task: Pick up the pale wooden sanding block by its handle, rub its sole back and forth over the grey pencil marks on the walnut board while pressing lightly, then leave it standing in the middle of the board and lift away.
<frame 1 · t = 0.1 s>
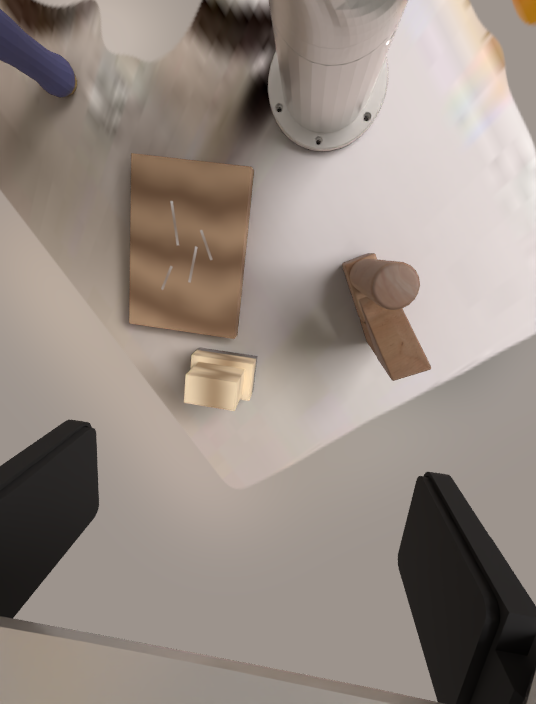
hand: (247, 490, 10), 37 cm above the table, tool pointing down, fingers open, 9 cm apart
sanding block: (226, 369, 49), on the table
wooden block: (368, 299, 44), on the table
rubber mallet: (67, 83, 41), on the table
walnut board: (190, 251, 45), on the table
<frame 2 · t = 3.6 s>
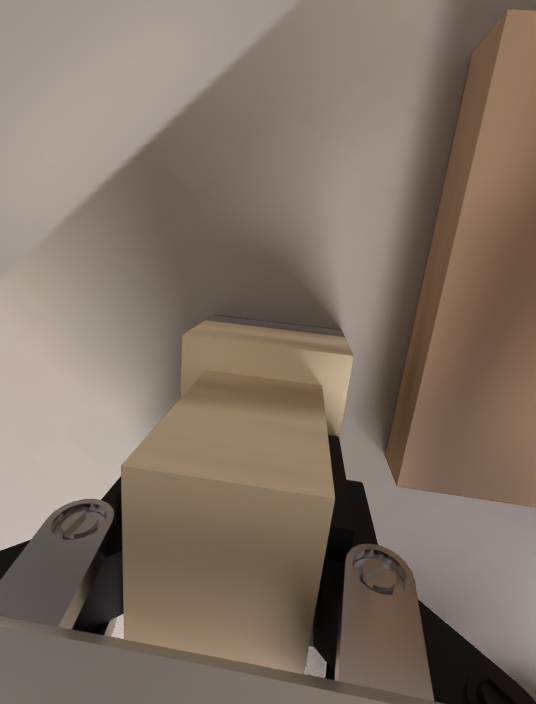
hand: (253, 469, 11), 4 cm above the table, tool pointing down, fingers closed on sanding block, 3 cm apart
sanding block: (266, 416, 15), on the table, touching gripper
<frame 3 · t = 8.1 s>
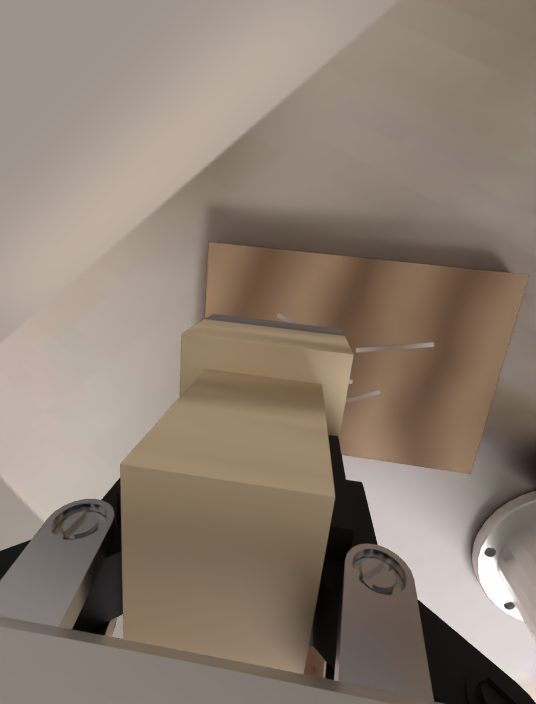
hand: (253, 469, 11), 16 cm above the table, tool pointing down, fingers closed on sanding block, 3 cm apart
sanding block: (266, 415, 15), point 12 cm above the table, touching gripper
wooden block: (271, 587, 33), on the table
walnut board: (342, 355, 26), on the table
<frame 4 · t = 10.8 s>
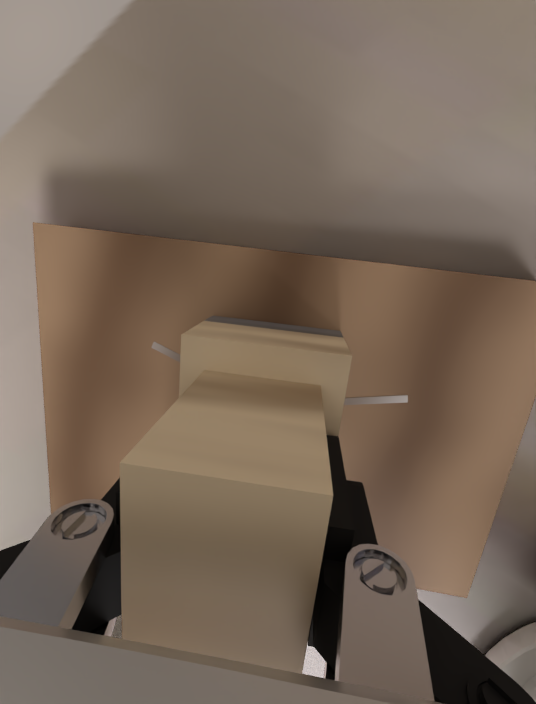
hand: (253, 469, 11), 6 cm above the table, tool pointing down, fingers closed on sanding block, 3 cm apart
sanding block: (265, 417, 15), point 2 cm above the table, touching gripper
walnut board: (270, 404, 17), on the table
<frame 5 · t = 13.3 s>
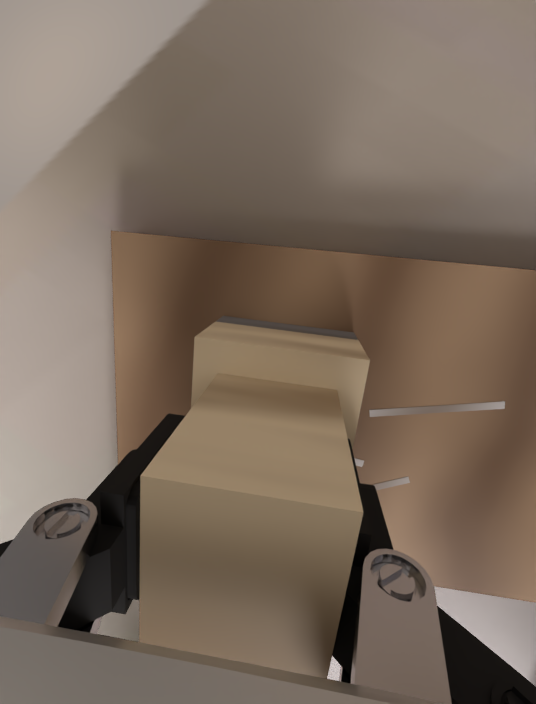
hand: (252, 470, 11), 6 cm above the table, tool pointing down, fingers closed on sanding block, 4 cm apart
sanding block: (275, 418, 15), point 2 cm above the table, touching gripper, walnut board
walnut board: (346, 412, 16), on the table
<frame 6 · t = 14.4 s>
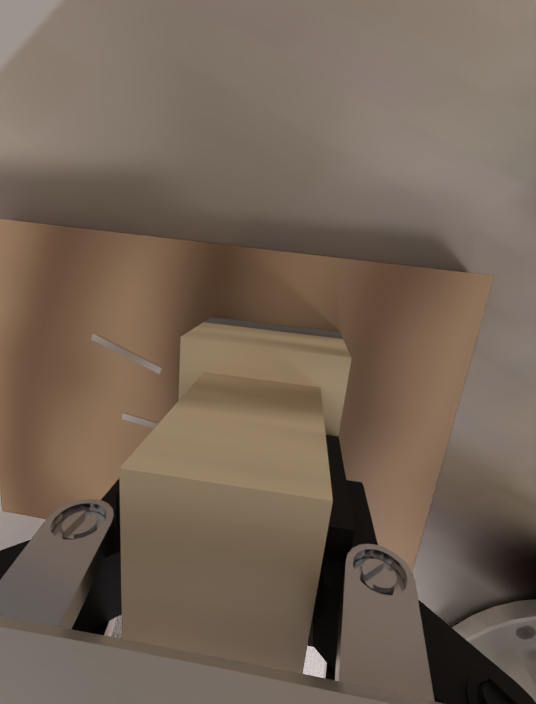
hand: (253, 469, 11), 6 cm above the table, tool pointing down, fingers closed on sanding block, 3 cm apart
sanding block: (265, 418, 15), point 2 cm above the table, touching gripper
walnut board: (216, 396, 17), on the table
when the fingers open (6 cm above the table, at t = 15.7 s): sanding block stays where it is, resting on walnut board.
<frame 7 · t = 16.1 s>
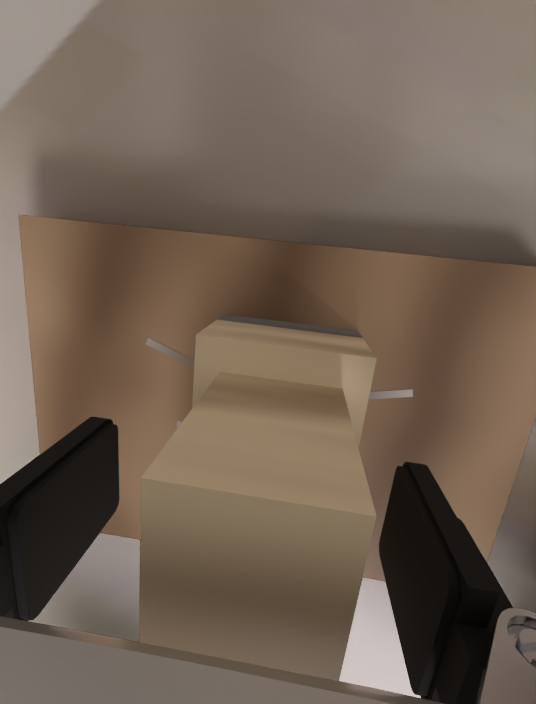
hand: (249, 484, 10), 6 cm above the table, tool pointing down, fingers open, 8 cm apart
sanding block: (278, 419, 14), point 2 cm above the table, touching walnut board
walnut board: (270, 401, 16), on the table
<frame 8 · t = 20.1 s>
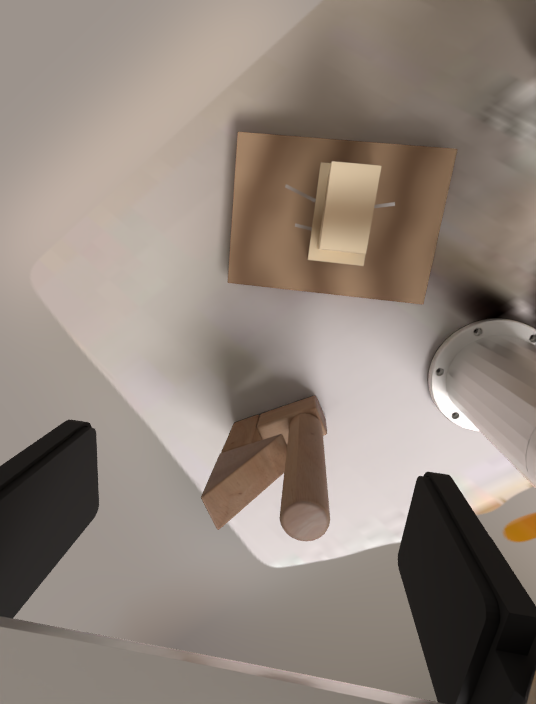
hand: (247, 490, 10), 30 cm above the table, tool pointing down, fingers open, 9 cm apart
sanding block: (339, 219, 34), point 2 cm above the table, touching walnut board
wooden block: (279, 420, 43), on the table
walnut board: (332, 222, 36), on the table
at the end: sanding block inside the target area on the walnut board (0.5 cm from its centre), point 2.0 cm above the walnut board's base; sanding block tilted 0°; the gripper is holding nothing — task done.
